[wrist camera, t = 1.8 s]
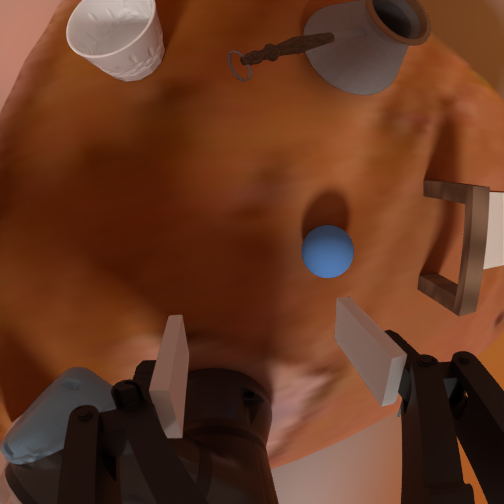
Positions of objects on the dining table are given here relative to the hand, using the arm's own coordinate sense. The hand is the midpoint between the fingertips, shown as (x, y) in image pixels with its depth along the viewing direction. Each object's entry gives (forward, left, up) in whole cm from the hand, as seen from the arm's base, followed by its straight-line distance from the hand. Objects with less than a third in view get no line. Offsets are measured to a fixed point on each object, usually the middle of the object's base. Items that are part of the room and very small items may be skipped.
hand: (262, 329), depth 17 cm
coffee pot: (+20, -9, -18) cm, 28 cm away
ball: (0, -9, -15) cm, 17 cm away
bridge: (0, -25, -17) cm, 30 cm away
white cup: (+23, +10, -18) cm, 31 cm away
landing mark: (0, -39, -17) cm, 43 cm away
